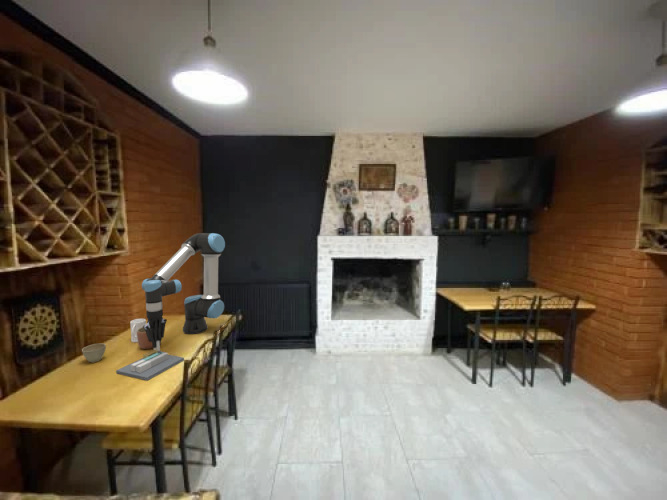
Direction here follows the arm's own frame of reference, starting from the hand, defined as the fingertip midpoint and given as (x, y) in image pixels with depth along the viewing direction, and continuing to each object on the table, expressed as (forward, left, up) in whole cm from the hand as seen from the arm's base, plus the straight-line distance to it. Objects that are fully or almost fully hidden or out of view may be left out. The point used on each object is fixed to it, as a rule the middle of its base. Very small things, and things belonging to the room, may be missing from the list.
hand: (157, 352), depth 170 cm
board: (+8, +6, -3) cm, 10 cm away
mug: (-14, -31, -3) cm, 35 cm away
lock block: (+4, 0, -2) cm, 4 cm away
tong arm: (+9, +4, -2) cm, 10 cm away
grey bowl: (+13, -28, -3) cm, 32 cm away
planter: (-10, -16, -3) cm, 19 cm away
